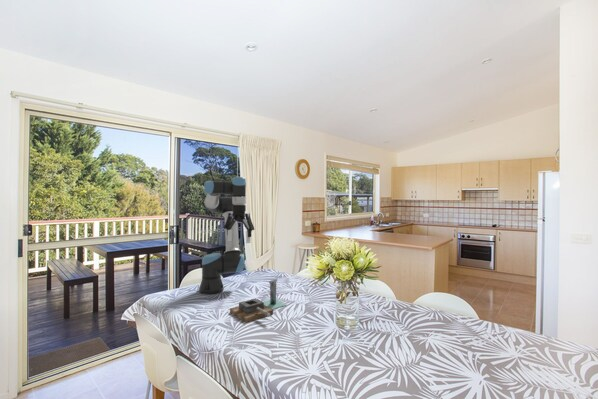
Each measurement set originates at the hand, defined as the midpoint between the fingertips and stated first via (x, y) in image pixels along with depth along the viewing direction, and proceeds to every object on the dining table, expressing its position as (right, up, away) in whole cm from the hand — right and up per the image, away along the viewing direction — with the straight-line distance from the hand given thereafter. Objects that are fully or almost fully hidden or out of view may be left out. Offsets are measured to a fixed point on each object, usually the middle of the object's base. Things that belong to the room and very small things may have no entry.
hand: (238, 242), depth 168 cm
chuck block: (+12, -35, -17) cm, 41 cm away
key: (+20, -34, -1) cm, 40 cm away
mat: (+20, -35, -1) cm, 40 cm away
